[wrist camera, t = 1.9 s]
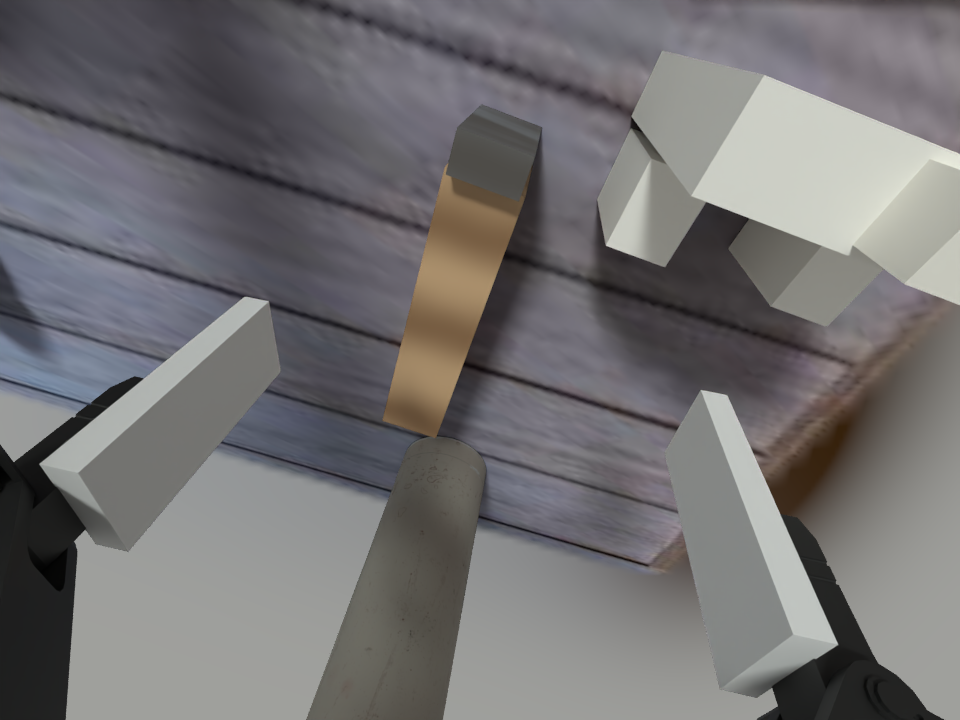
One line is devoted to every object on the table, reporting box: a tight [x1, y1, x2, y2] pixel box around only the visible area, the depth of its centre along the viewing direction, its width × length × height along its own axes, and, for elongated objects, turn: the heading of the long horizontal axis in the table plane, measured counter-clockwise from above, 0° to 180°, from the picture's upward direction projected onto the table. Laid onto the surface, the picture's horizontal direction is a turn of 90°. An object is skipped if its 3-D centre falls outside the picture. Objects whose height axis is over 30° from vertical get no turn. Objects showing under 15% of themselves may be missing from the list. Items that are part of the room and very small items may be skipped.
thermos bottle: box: [306, 436, 486, 720], centre depth 32 cm, size 8×8×28 cm
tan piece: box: [382, 105, 542, 438], centre depth 28 cm, size 20×4×7 cm, turn 163°
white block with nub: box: [597, 51, 960, 327], centre depth 18 cm, size 12×8×16 cm, turn 73°
